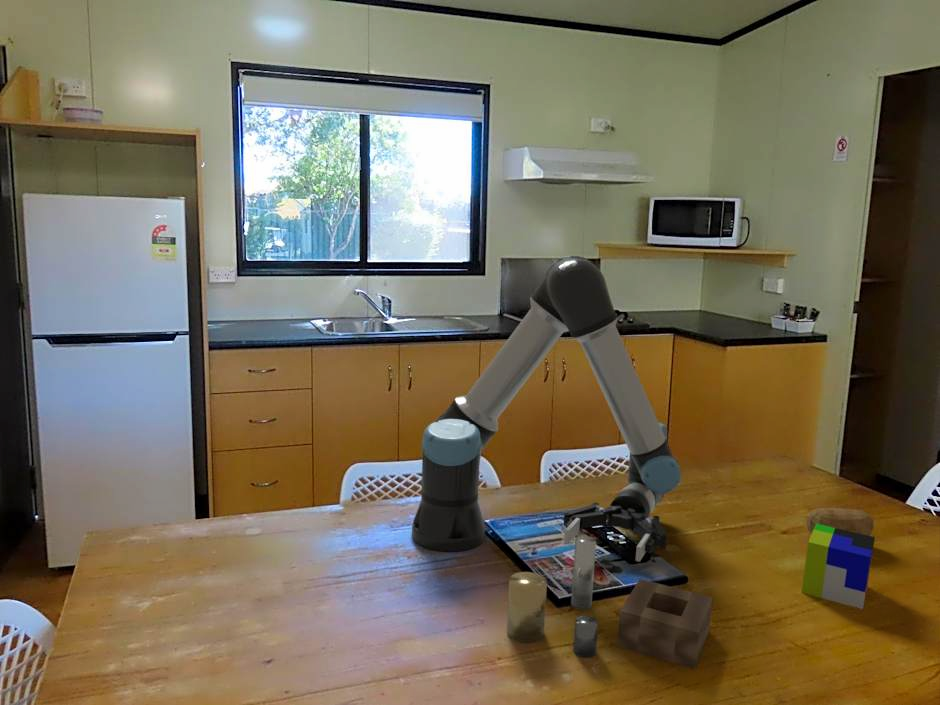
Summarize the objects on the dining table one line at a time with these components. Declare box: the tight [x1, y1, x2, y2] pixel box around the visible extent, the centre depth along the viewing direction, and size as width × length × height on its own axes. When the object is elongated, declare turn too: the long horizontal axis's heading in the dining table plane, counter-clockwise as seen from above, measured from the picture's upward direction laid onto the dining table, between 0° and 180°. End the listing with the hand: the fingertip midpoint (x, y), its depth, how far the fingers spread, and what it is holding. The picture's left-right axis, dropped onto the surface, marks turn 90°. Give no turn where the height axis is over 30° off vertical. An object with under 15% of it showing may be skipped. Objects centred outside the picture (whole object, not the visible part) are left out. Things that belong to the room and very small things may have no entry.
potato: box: [805, 507, 875, 536], centre depth 156 cm, size 10×14×8 cm
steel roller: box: [570, 535, 597, 611], centre depth 128 cm, size 4×4×12 cm
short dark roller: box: [572, 615, 599, 659], centre depth 115 cm, size 4×4×5 cm
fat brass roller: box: [506, 571, 548, 644], centre depth 119 cm, size 6×6×9 cm
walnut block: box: [616, 578, 714, 670], centre depth 119 cm, size 12×12×6 cm
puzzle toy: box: [801, 524, 875, 610], centre depth 137 cm, size 10×10×10 cm
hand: (601, 545), depth 136 cm, fingers open, 13 cm apart
